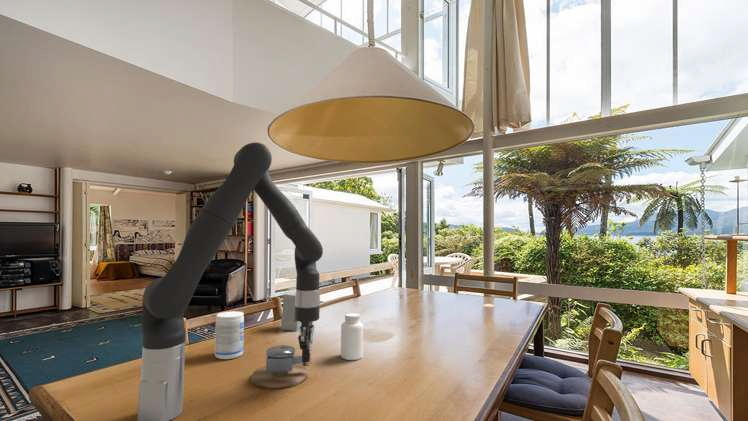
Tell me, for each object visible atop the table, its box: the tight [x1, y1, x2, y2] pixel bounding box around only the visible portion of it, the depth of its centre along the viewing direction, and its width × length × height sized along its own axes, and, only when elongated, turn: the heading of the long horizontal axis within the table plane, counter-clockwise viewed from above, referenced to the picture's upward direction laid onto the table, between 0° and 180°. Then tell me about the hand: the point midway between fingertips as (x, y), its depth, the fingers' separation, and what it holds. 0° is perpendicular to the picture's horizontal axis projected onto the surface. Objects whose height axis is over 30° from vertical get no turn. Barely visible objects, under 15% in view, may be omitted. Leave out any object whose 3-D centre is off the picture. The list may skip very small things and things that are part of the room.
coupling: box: [265, 345, 312, 372], centre depth 113 cm, size 14×9×5 cm, turn 99°
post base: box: [250, 364, 309, 390], centre depth 113 cm, size 18×17×6 cm
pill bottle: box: [340, 313, 364, 361], centre depth 131 cm, size 8×8×15 cm
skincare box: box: [280, 292, 301, 332], centre depth 165 cm, size 8×7×16 cm
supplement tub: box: [214, 310, 245, 360], centre depth 130 cm, size 10×10×15 cm
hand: (305, 361), depth 111 cm, fingers closed
